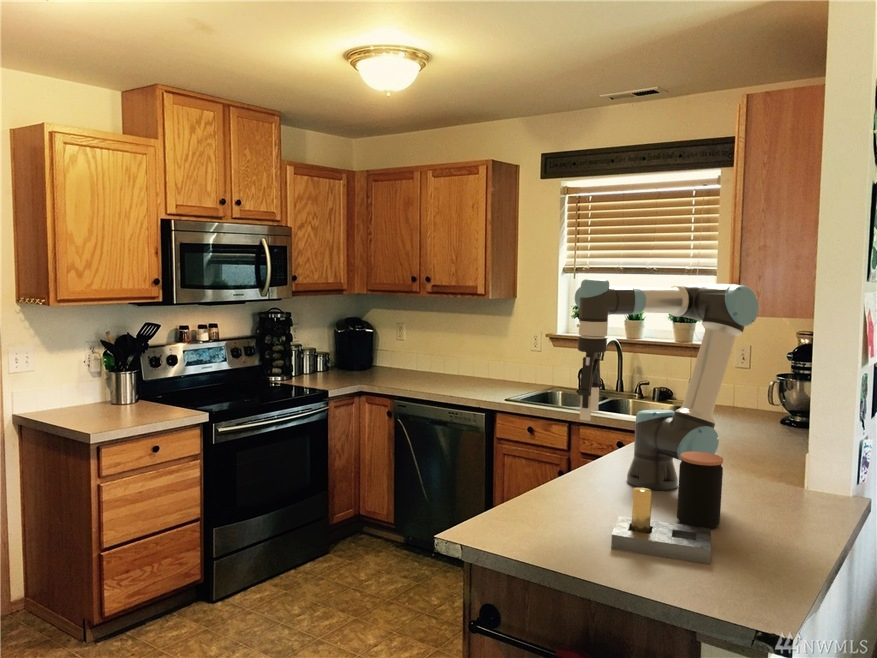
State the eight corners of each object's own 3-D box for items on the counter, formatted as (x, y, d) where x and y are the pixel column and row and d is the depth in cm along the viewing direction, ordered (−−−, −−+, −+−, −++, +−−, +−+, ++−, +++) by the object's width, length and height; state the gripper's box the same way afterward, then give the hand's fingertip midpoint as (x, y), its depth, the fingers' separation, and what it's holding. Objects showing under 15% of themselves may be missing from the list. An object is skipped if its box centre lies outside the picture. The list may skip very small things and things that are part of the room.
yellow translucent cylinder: (631, 537, 178) (633, 486, 176) (650, 540, 176) (652, 488, 175) (629, 544, 173) (632, 491, 172) (648, 547, 172) (651, 494, 171)
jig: (618, 529, 183) (618, 515, 183) (710, 542, 176) (710, 528, 175) (611, 548, 170) (611, 534, 170) (710, 564, 163) (710, 549, 162)
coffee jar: (709, 516, 194) (713, 451, 193) (726, 531, 184) (730, 462, 182) (670, 516, 194) (674, 451, 192) (685, 530, 183) (689, 461, 182)
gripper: (585, 332, 205) (582, 405, 207) (570, 340, 182) (566, 422, 184) (612, 333, 202) (609, 408, 204) (600, 342, 179) (596, 425, 181)
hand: (589, 415), depth 194 cm, fingers open, 13 cm apart
